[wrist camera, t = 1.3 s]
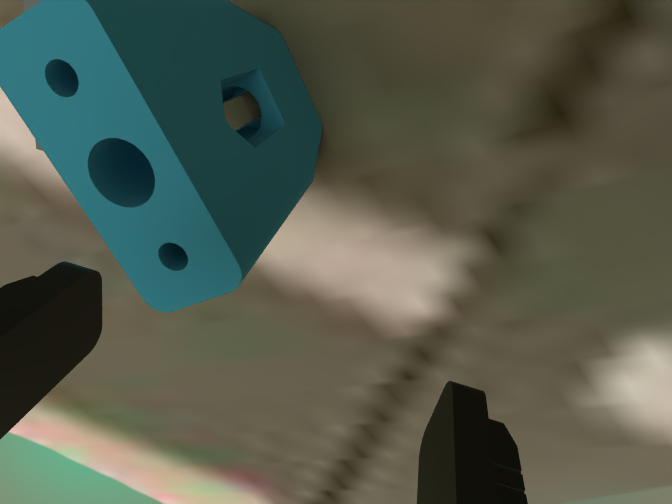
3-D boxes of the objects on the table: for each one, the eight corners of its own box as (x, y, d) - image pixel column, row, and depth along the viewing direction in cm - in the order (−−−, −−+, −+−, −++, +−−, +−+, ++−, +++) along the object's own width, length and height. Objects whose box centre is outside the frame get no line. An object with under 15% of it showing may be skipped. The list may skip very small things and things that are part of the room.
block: (336, 156, 37) (250, 285, 20) (280, 178, 39) (155, 317, 21) (264, -4, 33) (74, -23, 16) (205, 29, 35) (-27, 46, 17)
